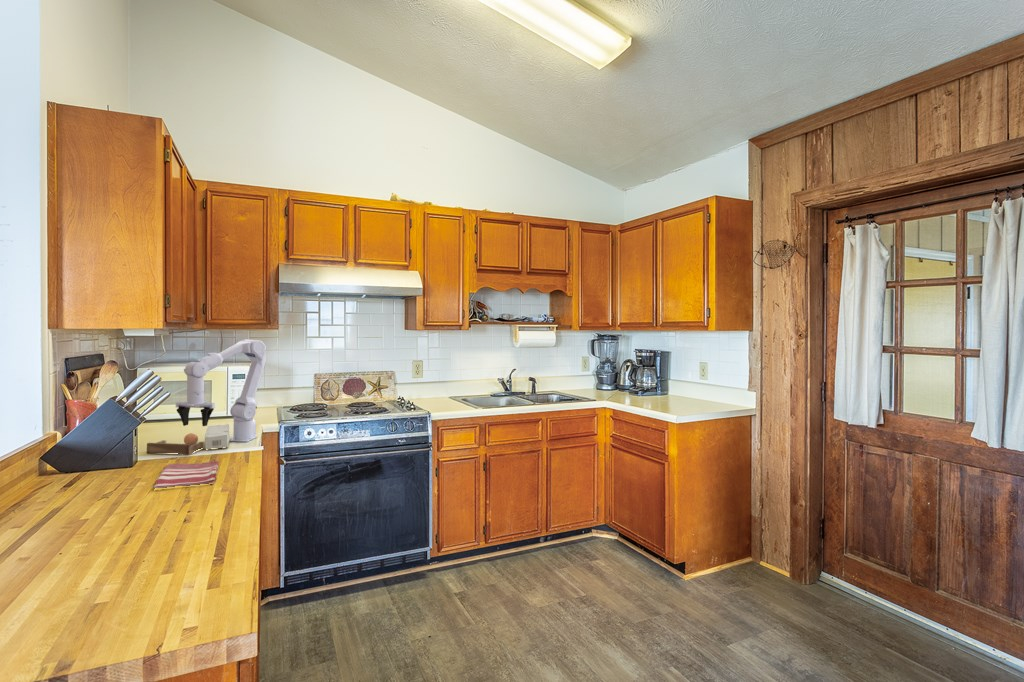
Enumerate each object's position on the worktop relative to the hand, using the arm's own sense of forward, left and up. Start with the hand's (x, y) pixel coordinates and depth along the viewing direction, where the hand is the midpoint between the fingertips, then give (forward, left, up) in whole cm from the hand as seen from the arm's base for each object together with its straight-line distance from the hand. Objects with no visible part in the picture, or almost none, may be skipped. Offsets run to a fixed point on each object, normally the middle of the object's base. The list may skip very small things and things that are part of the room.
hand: (195, 425), depth 202 cm
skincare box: (0, +9, -7) cm, 11 cm away
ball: (-5, -5, -7) cm, 10 cm away
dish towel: (+34, +19, -10) cm, 40 cm away
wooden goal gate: (+5, -5, -10) cm, 12 cm away
